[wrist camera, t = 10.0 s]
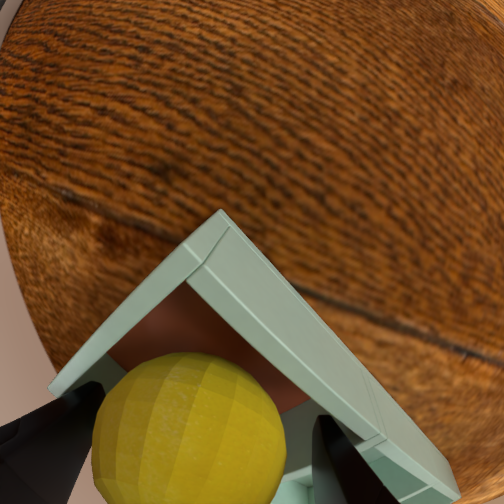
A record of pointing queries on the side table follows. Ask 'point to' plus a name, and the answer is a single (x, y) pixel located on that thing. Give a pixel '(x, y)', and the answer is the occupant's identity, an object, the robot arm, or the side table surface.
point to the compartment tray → (263, 359)
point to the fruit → (188, 435)
